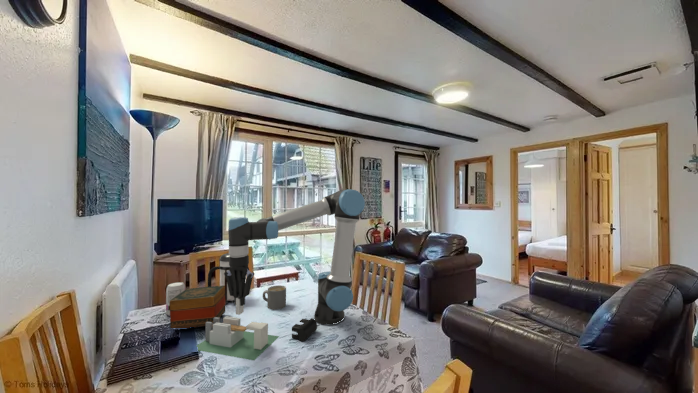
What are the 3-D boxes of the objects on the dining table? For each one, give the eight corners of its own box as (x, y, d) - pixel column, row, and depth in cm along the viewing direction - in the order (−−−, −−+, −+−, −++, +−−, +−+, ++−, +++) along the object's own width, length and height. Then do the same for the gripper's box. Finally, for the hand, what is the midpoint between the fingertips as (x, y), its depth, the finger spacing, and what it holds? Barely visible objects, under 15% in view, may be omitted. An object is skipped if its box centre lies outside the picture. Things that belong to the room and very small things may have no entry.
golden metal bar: (247, 329, 112) (247, 325, 112) (243, 332, 110) (243, 328, 110) (213, 325, 117) (213, 321, 117) (209, 327, 114) (209, 324, 114)
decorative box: (212, 335, 122) (217, 297, 123) (160, 332, 120) (165, 294, 121) (229, 318, 142) (232, 285, 143) (185, 315, 140) (189, 282, 142)
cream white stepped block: (267, 343, 111) (267, 323, 111) (260, 349, 106) (260, 329, 107) (252, 340, 113) (252, 321, 113) (245, 347, 108) (245, 326, 108)
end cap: (305, 345, 112) (305, 329, 112) (291, 342, 115) (291, 325, 115) (317, 334, 122) (317, 319, 122) (303, 331, 124) (303, 316, 124)
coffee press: (224, 295, 170) (225, 246, 170) (249, 296, 168) (249, 247, 168) (206, 305, 153) (207, 251, 153) (233, 307, 150) (233, 252, 151)
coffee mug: (289, 304, 155) (289, 286, 155) (278, 311, 146) (278, 292, 146) (270, 300, 161) (270, 283, 161) (258, 306, 152) (258, 288, 152)
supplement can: (162, 315, 140) (162, 285, 141) (177, 309, 148) (177, 281, 148) (173, 317, 137) (173, 287, 137) (188, 311, 145) (188, 283, 145)
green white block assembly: (279, 339, 117) (279, 317, 117) (254, 363, 100) (254, 338, 100) (223, 330, 124) (223, 310, 125) (191, 352, 107) (191, 328, 107)
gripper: (258, 254, 114) (259, 310, 114) (231, 252, 117) (232, 308, 118) (247, 258, 107) (248, 318, 107) (218, 256, 110) (219, 315, 110)
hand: (239, 313), depth 112 cm, fingers closed
